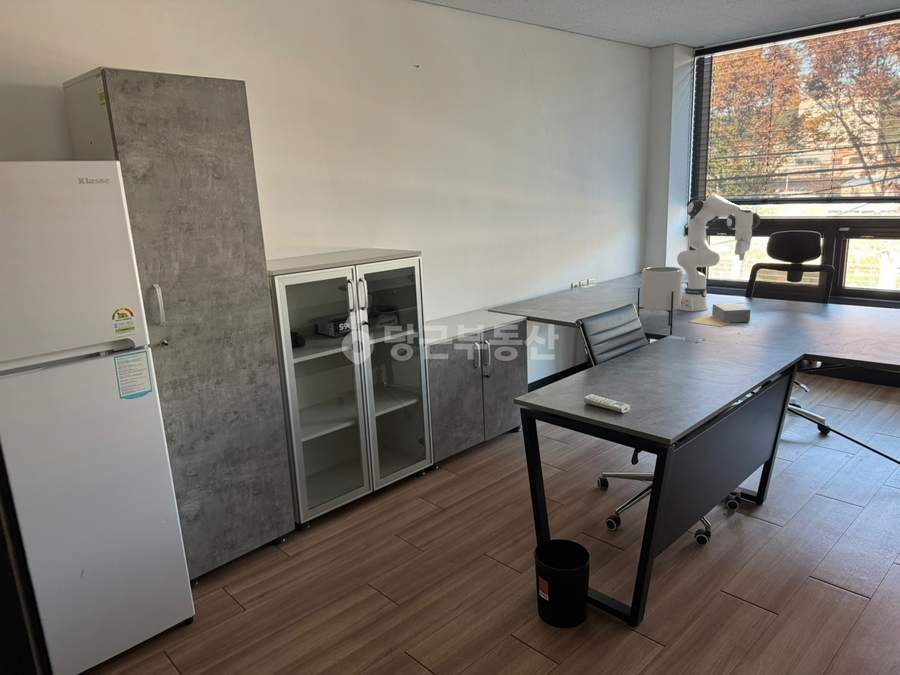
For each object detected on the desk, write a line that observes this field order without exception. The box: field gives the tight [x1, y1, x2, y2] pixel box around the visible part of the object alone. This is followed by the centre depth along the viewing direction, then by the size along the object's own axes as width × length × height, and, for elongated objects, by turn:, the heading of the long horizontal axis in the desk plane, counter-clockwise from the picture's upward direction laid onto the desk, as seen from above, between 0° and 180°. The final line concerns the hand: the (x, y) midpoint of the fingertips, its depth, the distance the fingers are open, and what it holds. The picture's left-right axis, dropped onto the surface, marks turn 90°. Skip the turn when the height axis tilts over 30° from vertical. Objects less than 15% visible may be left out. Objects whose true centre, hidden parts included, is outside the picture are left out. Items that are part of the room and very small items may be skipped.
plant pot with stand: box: [637, 266, 683, 335], centre depth 355 cm, size 24×24×36 cm
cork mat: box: [688, 314, 733, 328], centre depth 371 cm, size 20×22×1 cm
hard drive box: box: [711, 302, 751, 323], centre depth 372 cm, size 16×8×20 cm
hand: (741, 260), depth 363 cm, fingers closed
